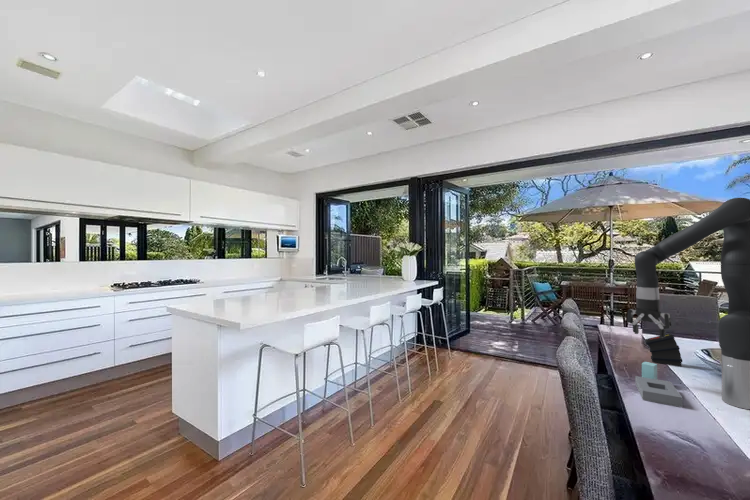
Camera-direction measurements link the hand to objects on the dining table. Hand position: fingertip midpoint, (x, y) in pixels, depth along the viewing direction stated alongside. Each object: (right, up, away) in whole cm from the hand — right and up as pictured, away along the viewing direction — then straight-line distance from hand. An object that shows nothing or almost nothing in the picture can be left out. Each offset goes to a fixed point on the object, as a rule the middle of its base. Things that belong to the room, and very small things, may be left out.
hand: (648, 335), depth 134 cm
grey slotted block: (-7, -20, -12) cm, 24 cm away
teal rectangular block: (0, -20, 0) cm, 20 cm away
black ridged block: (+26, -20, +22) cm, 40 cm away
